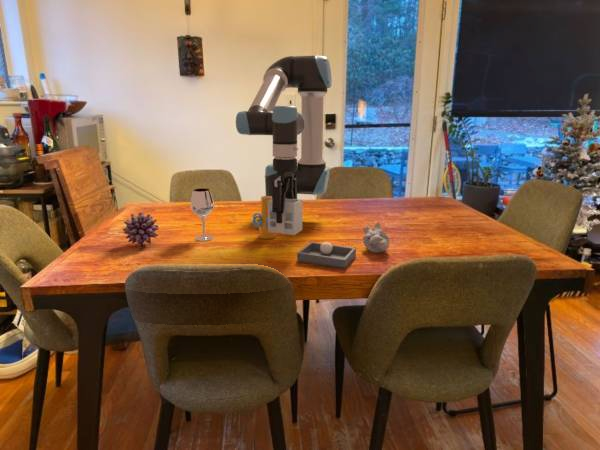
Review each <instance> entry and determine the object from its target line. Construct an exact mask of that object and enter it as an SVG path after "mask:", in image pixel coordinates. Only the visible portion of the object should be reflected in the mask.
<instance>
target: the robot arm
mask: <svg viewBox="0 0 600 450" xmlns="http://www.w3.org/2000/svg"><path fill="white" fill-rule="evenodd" d="M331 71H332V70H331V65H330V61H329V59H328V57H326V56H325V55H316V54H315V55H295V56H294V55H290V56H286V57H285V56H284V57H282V58H280V59H278V60H277V61H275V62H274V63H272V64H271V65H270V66H269V67H268V68H267V69H266V71H265V73H264V74H263V80H262V83H261V86H260V88H259V90H258V91H257V94H256V95H255V97H254V99H253V100H252V103H251V104H250V107H249V109H248V110H241V111H238V112H237V114H236V116H235V127H236V130H237V133H238V134H240V135H244V136H245V135H247V136H272V157H273V159H272V163H270V164H268V165H267V166H265V170H264V171H265V172H264V180H265V181H264V182H265V183H264V185H265V186H264V187H265V196H272V212H274V213H276V232H277V233H276V234H282V233H285V213H283V211H284V203H285V198H288V199H298V195H313V196H315V195H316V196H317V195H318V196H319V195H320V196H321V195H324V194H325V193H326V190H327V188H328V185H329V184H328V183H329V179H330V178H329V177H330V167H329V166H326V165H327V163H326V160H324V159H323V135H324V134H323V129H324V126H323V125H324V97H325V96H326V95H327V94H328V89H330V88H332V72H331ZM289 88H290V89H291V88H293V89H295V88H297V93H298V95H299V96H300V97H301V111H300V112H298V108H297V106H295V105H277V103H278V100H279V98H280V96H281V94H282V92H284V91H285V90H286V89H289ZM298 135H301V137H300V139H301V141H300V142H301V145H300V147H301V148H300V153H301V154H300V159H299V160H298V159H297V156H298V150H299V147H298Z"/></svg>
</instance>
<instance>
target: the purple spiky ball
mask: <svg viewBox="0 0 600 450" xmlns="http://www.w3.org/2000/svg"><path fill="white" fill-rule="evenodd" d="M144 214H145V213H144V212H143V211H142V212H141V211H138V214H137V215H135V214H134V213H131V214H130V216H131V217H130V219H126V220H124V221H123V223H124V224H125V227H123V228H122V231H123V234H127V236H126V237H125V240H126V239H128V243H131V244H132V245H134V244H135V243H137V244H138V247H141V246H144V243H145V242H146V243H148V244H149V245H151V244H152V242H151V241H152V239H151V238H155V239H156V238H157V237H158V236H159V234H157V233H156V232H155V231H157V230H159V229H160V228H159V225H158V224H156V222H157V221H158V220H157V219H153V216H151V213H148V214H147V215H144Z"/></svg>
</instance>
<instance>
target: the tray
mask: <svg viewBox="0 0 600 450" xmlns="http://www.w3.org/2000/svg"><path fill="white" fill-rule="evenodd" d="M322 243H323V242H322ZM322 243H321V242H315V241H310V242H309V243H308V244H307V245H305V246H303V247H302V248H301V249H300V250H299V251H297V253H296V262H298V263H302V264H308V265H315V266H322V267H327V268H328V267H329V268H333V269H334V268H335V269H341V270H346V269H347V267H348V266H349V265H350V264H351V263H352V262H353V261H354V259H355V258H357V256H356V255H357V248H356V247H350V246H343V245H335V244H331V245H332V251H331V253H329V254H323V253H322V252H321V250H320V246H321V244H322Z"/></svg>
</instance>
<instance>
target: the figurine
mask: <svg viewBox="0 0 600 450" xmlns="http://www.w3.org/2000/svg"><path fill="white" fill-rule="evenodd" d="M362 230H363V232H364V234H365V235H363V237H362V242H363V245H364V247H365V248H366V249H367V250H368V251H369V252H370V253H374V254H379V253H383V252H386V251H387V250H388V249H389V248H390V237H389V235H388V233H386V232H385V230H384V229H381V222H379V221H377V222H376V223H375V225H374V227H373V228H371V227H370V226H368V225H366V226H364V227H363V228H362Z"/></svg>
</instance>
